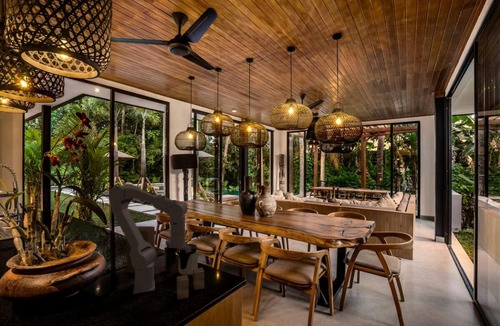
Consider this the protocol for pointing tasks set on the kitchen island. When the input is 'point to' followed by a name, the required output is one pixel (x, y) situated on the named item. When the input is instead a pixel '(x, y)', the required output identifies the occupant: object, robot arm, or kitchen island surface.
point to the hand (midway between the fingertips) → (177, 266)
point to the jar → (190, 261)
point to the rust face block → (198, 278)
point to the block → (148, 236)
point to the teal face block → (182, 287)
